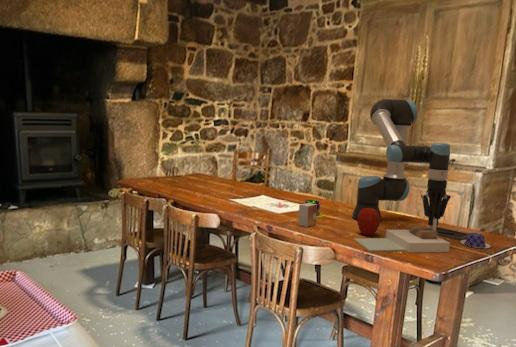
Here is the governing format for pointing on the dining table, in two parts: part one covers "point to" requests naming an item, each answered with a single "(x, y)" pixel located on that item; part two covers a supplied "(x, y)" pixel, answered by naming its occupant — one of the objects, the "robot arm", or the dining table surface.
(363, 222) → the dark red rounded piece
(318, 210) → the toy cauldron
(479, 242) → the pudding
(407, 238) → the cream flat block
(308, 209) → the small box
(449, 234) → the picture frame
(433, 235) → the walnut block
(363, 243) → the mat
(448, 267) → the dining table surface
